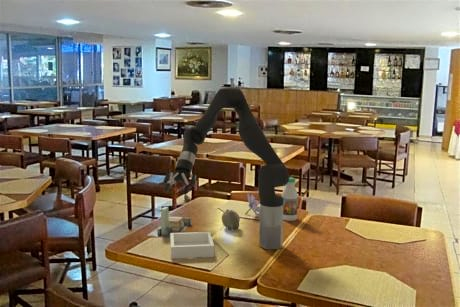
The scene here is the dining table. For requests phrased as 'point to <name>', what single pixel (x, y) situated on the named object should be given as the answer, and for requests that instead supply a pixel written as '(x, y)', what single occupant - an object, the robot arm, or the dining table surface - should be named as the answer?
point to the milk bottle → (290, 201)
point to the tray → (191, 245)
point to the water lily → (253, 205)
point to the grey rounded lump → (230, 219)
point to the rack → (169, 230)
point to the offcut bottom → (177, 226)
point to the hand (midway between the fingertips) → (175, 193)
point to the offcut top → (175, 221)
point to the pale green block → (164, 219)
